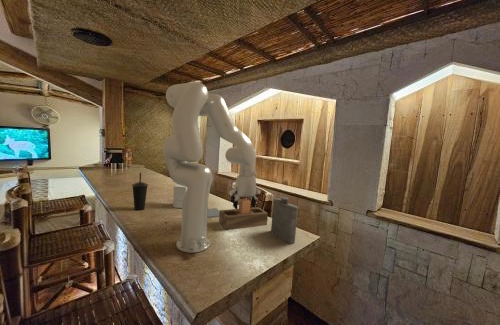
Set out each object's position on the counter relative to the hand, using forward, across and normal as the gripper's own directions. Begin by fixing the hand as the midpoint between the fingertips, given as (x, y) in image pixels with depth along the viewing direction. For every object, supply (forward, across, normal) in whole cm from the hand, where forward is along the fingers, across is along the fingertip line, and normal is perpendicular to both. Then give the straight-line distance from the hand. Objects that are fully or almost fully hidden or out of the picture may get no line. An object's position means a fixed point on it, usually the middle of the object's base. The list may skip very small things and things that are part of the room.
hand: (244, 207), depth 110 cm
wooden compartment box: (+8, 0, 0) cm, 8 cm away
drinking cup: (+8, +46, -34) cm, 58 cm away
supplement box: (+9, +24, -34) cm, 42 cm away
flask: (+9, -10, +19) cm, 23 cm away
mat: (+8, +12, -18) cm, 23 cm away
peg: (+6, 0, 0) cm, 6 cm away
